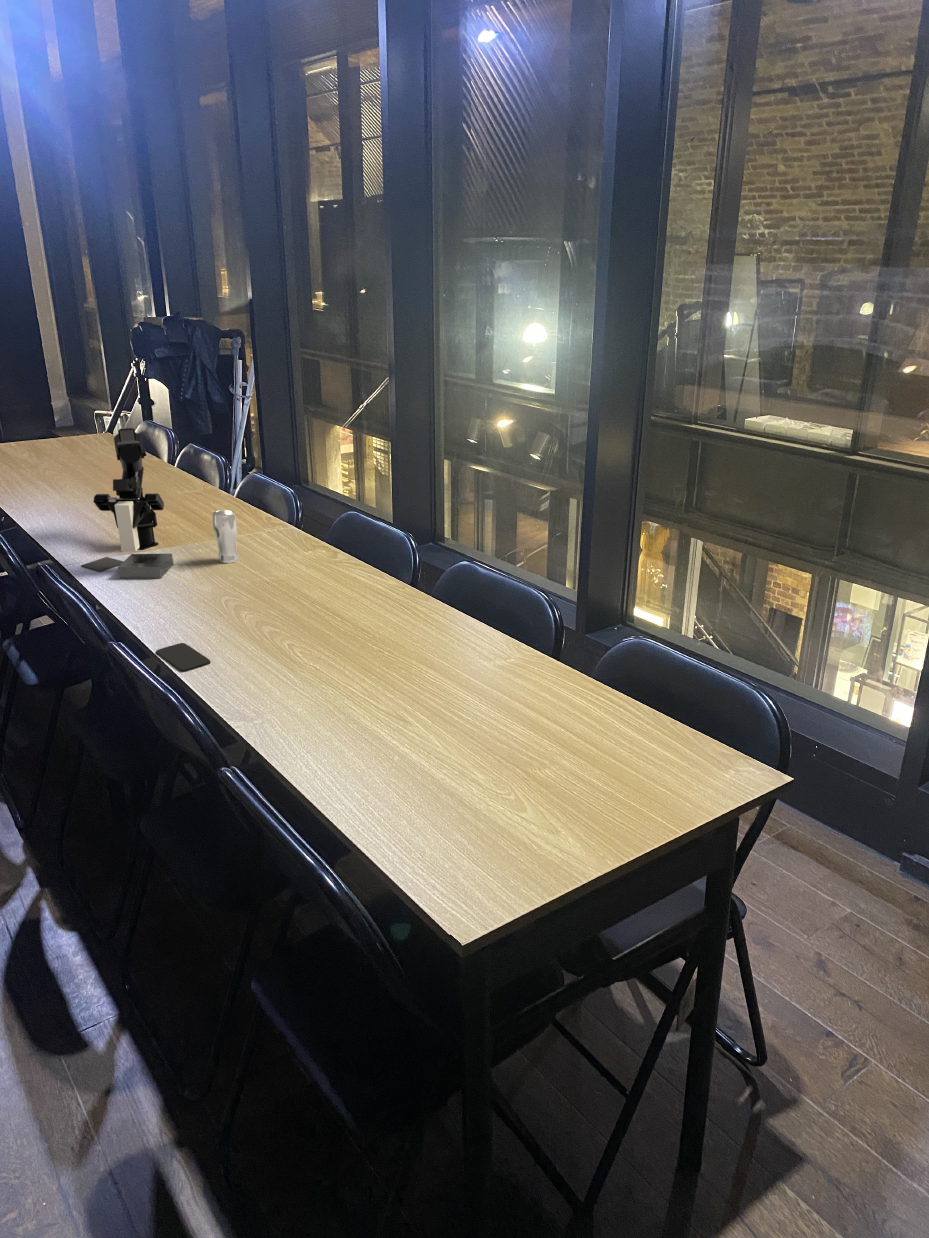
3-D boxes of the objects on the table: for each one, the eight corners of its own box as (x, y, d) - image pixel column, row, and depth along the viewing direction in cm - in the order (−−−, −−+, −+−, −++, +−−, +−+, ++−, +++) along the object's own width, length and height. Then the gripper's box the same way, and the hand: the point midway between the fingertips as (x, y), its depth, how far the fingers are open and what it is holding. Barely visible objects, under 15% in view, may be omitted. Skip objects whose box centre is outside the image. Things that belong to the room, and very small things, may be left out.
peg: (126, 547, 260) (118, 501, 254) (139, 547, 260) (132, 501, 254) (121, 551, 256) (114, 505, 250) (135, 551, 256) (128, 505, 251)
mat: (106, 558, 270) (106, 556, 270) (125, 563, 265) (125, 561, 265) (81, 566, 263) (80, 565, 263) (100, 571, 258) (100, 570, 258)
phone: (183, 641, 211) (212, 661, 200) (184, 645, 211) (212, 664, 200) (153, 650, 206) (181, 670, 196) (154, 653, 206) (182, 674, 196)
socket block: (133, 564, 264) (131, 553, 262) (173, 564, 264) (171, 553, 263) (119, 578, 253) (117, 567, 251) (161, 578, 253) (159, 566, 252)
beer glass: (234, 564, 264) (228, 516, 258) (213, 563, 265) (207, 515, 259) (244, 557, 270) (239, 510, 264) (223, 555, 271) (217, 508, 265)
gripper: (89, 466, 252) (82, 515, 246) (155, 466, 252) (149, 514, 247) (103, 486, 262) (97, 533, 256) (166, 485, 263) (161, 532, 257)
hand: (125, 528), depth 254 cm, fingers closed on peg, 4 cm apart
